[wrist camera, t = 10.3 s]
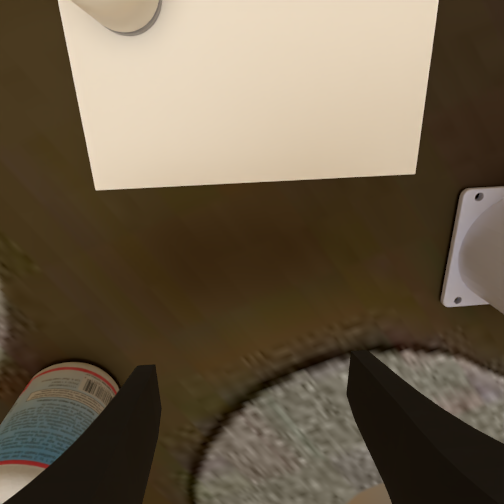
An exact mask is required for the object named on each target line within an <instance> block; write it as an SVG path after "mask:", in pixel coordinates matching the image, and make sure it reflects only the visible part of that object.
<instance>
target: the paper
mask: <svg viewBox="0 0 504 504" xmlns="http://www.w3.org/2000/svg"><path fill="white" fill-rule="evenodd" d="M438 2H439V0H162V6H161V11H160V14H159V16H158V18H157V20H156V22H155V23H154V25H153V26H152V27H151V28H150V29H148V30H147V31H146V32H144V33H142V34H139V35H135V36H123V35H119V34H116V33H114V32H112V31H110V30H108V29H107V28H106V27H104V26H103V25H102V24H100V23H99V22H98V21H97V20H95V19H94V18H93V17H91V16H90V15H89V14H87V13H86V12H85V11H84V10H82V9H81V8H80V7H78V6H77V5H76V4H75V3H73V2H72V1H71V0H58V4H59V9H60V14H61V19H62V24H63V29H64V34H65V39H66V44H67V49H68V54H69V59H70V64H71V69H72V74H73V79H74V84H75V89H76V94H77V99H78V104H79V109H80V114H81V119H82V124H83V129H84V134H85V139H86V144H87V150H88V155H89V160H90V165H91V170H92V175H93V180H94V185H95V190H113V189H132V188H152V187H171V186H191V185H210V184H230V183H250V182H269V181H289V180H308V179H328V178H347V177H367V176H386V175H406V174H415V172H416V165H417V157H418V150H419V142H420V135H421V128H422V120H423V113H424V105H425V98H426V91H427V83H428V76H429V68H430V61H431V53H432V46H433V39H434V31H435V24H436V16H437V9H438Z"/></svg>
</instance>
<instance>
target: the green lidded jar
mask: <svg viewBox="0 0 504 504" xmlns="http://www.w3.org/2000/svg"><path fill="white" fill-rule="evenodd" d="M71 1H72V2H73V3H75V4H76V5H77V6H78V7H80V8H81V9H82V10H84V11H85V12H86V13H87V14H89V15H90V16H91V17H93V18H94V19H95V20H97V21H98V22H99V23H100V24H102V25H103V26H104V27H106V28H107V29H108V30H110V31H112V32H114V33H116V34H119V35H123V36H135V35H139V34H142V33H144V32H146V31H147V30H148V29H150V28H151V27H152V26H153V25H154V23H155V22H156V20H157V18H158V16H159V14H160V11H161V6H162V0H71Z"/></svg>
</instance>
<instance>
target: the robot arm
mask: <svg viewBox="0 0 504 504" xmlns="http://www.w3.org/2000/svg"><path fill="white" fill-rule="evenodd" d="M478 193H479V197H478V198H477V199H475V196H476V195H477V194H478ZM457 297H458V299H457V300H455V299H456V298H457ZM454 300H455V301H454ZM441 303H442V304H443V305H444V306H446V307H458V306H470V305H483V304H490V305H492V306H493V307H494V308H496V309H497V310H499V311H500V312H501V313H503V314H504V186H495V187H477V188H467V189H465V190H463V191H462V192H461V194H460V197H459V202H458V208H457V213H456V218H455V224H454V229H453V235H452V240H451V245H450V251H449V256H448V262H447V267H446V273H445V278H444V283H443V289H442V294H441ZM347 397H348V401H349V404H350V407H351V410H352V413H353V416H354V419H355V422H356V424H357V426H358V428H359V430H360V433H361V435H362V437H363V439H364V441H365V443H366V446H367V448H368V450H369V452H370V454H371V456H372V458H373V460H374V463H375V465H376V467H377V469H378V471H379V473H380V475H381V478H382V480H383V482H384V484H385V487H386V489H387V491H388V494H389V496H390V499H391V502H392V504H504V444H503V443H501V442H499V441H497V440H495V439H493V438H492V437H490V436H488V435H486V434H484V433H482V432H480V431H478V430H477V429H475V428H473V427H471V426H470V425H468V424H466V423H465V422H463V421H461V420H460V419H458V418H457V417H455V416H453V415H452V414H450V413H449V412H447V411H445V410H444V409H442V408H441V407H439V406H438V405H437V404H435V403H434V402H432V401H431V400H429V399H428V398H427V397H425V396H424V395H422V394H421V393H420V392H418V391H417V390H416V389H414V388H413V387H412V386H411V385H409V384H408V383H407V382H405V381H404V380H403V379H402V378H400V377H399V376H398V375H397V374H395V373H394V372H393V371H392V370H391V369H389V368H388V367H387V366H386V365H385V364H383V363H382V362H381V361H380V360H379V359H377V358H376V357H375V356H374V355H373V354H371V353H370V352H369V351H367V350H362V351H351V357H350V366H349V376H348V385H347ZM160 417H161V402H160V395H159V388H158V381H157V374H156V367H155V365H141V366H137V367H136V368H135V369H134V371H133V372H132V373H131V375H130V376H129V378H128V379H127V380H126V382H125V383H124V384H123V386H122V387H121V388H120V390H119V391H118V392H117V394H116V395H115V396H114V397H113V399H112V400H111V401H110V402H109V404H108V405H107V406H106V407H105V408H104V410H103V411H102V412H101V413H100V414H99V416H98V417H97V418H96V419H95V420H94V421H93V422H92V423H91V425H90V426H89V427H88V428H87V429H86V430H85V431H84V432H83V433H82V435H81V436H80V437H79V438H78V439H77V440H76V441H75V442H74V443H73V444H72V445H71V446H70V447H69V448H68V449H67V450H66V451H65V452H64V453H63V454H62V455H61V456H59V457H58V458H57V459H56V460H55V461H54V462H53V463H52V464H51V465H49V466H48V467H47V468H46V469H45V470H44V471H42V472H41V473H40V474H39V475H38V476H37V477H36V478H34V479H33V480H32V481H31V482H30V483H28V484H27V485H26V486H25V487H23V488H22V489H21V490H20V491H18V492H17V493H16V494H14V495H13V496H12V497H11V498H9V499H8V500H7V501H5V502H4V503H2V504H142V502H143V498H144V493H145V489H146V485H147V481H148V477H149V473H150V469H151V464H152V460H153V456H154V452H155V448H156V443H157V439H158V433H159V425H160Z"/></svg>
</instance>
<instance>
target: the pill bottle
mask: <svg viewBox="0 0 504 504" xmlns="http://www.w3.org/2000/svg"><path fill="white" fill-rule="evenodd" d="M118 391H119V388H118V386H117V384H116V382H115V381H114V380H113V379H112V377H111V376H110V375H108V374H107V373H106V372H105V371H103V370H102V369H100V368H98V367H96V366H93V365H91V364H87V363H82V362H65V363H60V364H56V365H52V366H50V367H47V368H45V369H43V370H42V371H40V372H39V373H37V374H36V375H35V376H34V377H33V378H32V379H31V381H30V382H29V383H28V385H27V386H26V388H25V389H24V391H23V392H22V393H21V395H20V396H19V398H18V399H17V401H16V402H15V404H14V405H13V407H12V409H11V410H10V411H9V413H8V414H7V416H6V417H5V419H4V420H3V422H2V423H1V425H0V504H2V503H4V502H5V501H7V500H8V499H9V498H11V497H12V496H13V495H14V494H16V493H17V492H18V491H20V490H21V489H22V488H23V487H25V486H26V485H27V484H28V483H30V482H31V481H32V480H33V479H34V478H36V477H37V476H38V475H39V474H40V473H41V472H42V471H44V470H45V469H46V468H47V467H48V466H49V465H51V464H52V463H53V462H54V461H55V460H56V459H57V458H58V457H59V456H61V455H62V454H63V453H64V452H65V451H66V450H67V449H68V448H69V447H70V446H71V445H72V444H73V443H74V442H75V441H76V440H77V439H78V438H79V437H80V436H81V435H82V433H83V432H84V431H85V430H86V429H87V428H88V427H89V426H90V425H91V423H92V422H93V421H94V420H95V419H96V418H97V417H98V416H99V414H100V413H101V412H102V411H103V410H104V408H105V407H106V406H107V405H108V404H109V402H110V401H111V400H112V399H113V397H114V396H115V395H116V394H117V392H118Z"/></svg>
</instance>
